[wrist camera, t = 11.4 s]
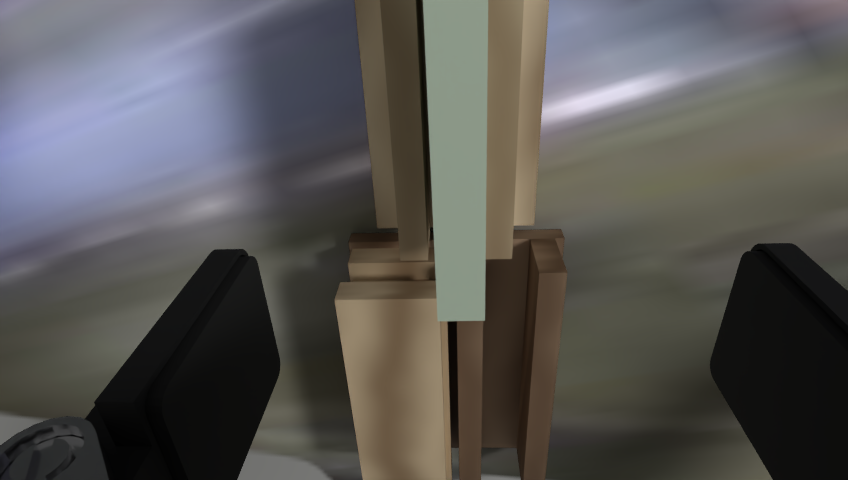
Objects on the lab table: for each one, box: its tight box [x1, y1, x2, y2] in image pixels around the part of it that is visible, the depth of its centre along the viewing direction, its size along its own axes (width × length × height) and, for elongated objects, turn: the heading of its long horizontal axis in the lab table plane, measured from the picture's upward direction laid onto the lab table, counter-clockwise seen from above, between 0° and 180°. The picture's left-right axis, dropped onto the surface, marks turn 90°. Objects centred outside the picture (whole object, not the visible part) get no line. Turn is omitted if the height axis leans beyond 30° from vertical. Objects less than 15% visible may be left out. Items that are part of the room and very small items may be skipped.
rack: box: [335, 229, 567, 480], centre depth 37 cm, size 14×20×7 cm
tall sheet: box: [423, 0, 488, 321], centre depth 24 cm, size 2×16×12 cm, turn 3°
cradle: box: [355, 0, 549, 261], centre depth 27 cm, size 10×20×5 cm, turn 3°
